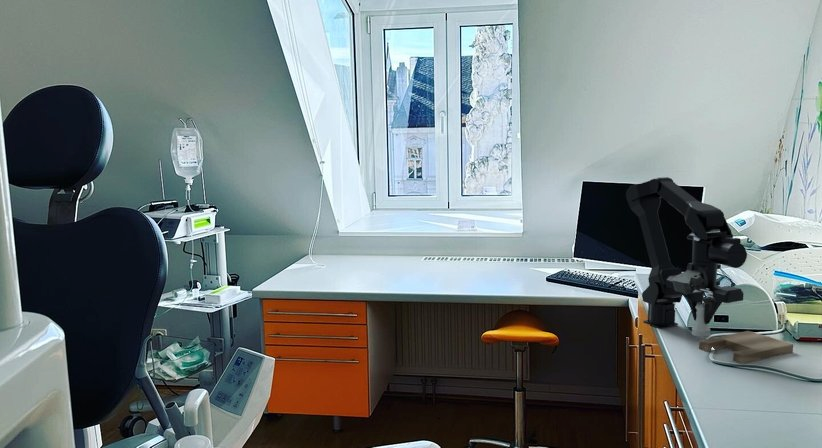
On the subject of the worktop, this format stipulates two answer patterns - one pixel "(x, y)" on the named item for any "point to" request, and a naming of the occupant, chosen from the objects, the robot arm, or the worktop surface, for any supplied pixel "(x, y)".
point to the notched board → (748, 346)
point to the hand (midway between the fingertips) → (701, 322)
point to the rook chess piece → (700, 322)
